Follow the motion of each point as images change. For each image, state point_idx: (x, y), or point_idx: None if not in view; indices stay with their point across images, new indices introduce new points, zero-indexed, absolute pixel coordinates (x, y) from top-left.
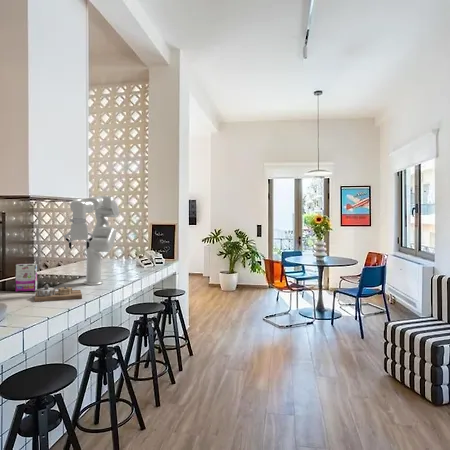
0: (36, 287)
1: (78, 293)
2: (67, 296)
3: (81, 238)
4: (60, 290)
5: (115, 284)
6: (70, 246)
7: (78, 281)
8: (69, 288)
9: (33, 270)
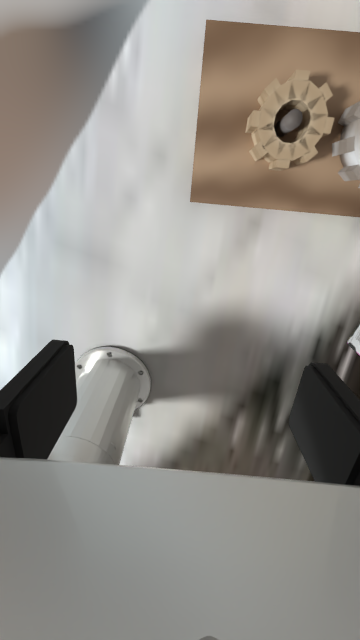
0: (358, 337)
1: (215, 94)
2: (290, 27)
3: (117, 499)
4: (326, 90)
5: (22, 332)
6: (345, 386)
7: (164, 428)
8: (271, 102)
9: None
